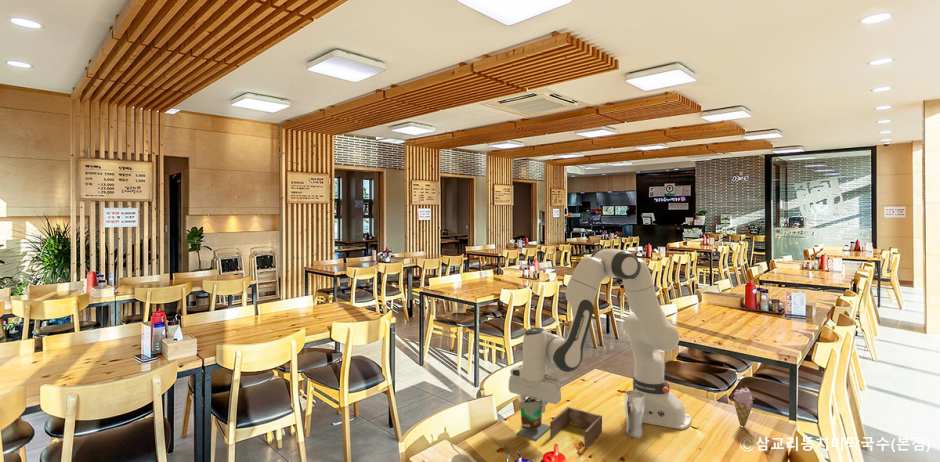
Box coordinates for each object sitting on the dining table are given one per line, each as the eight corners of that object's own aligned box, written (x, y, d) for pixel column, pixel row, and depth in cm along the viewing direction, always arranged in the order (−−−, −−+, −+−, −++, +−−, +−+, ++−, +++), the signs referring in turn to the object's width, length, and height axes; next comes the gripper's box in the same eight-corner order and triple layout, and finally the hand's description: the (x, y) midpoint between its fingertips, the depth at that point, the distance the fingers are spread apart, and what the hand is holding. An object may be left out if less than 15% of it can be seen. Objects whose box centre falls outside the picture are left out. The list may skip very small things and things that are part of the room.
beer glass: (621, 429, 171) (622, 389, 170) (640, 429, 170) (641, 390, 170) (627, 438, 164) (628, 397, 163) (647, 438, 163) (648, 397, 163)
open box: (601, 431, 169) (602, 415, 168) (586, 449, 156) (586, 432, 156) (567, 421, 177) (567, 406, 176) (550, 438, 164) (550, 421, 164)
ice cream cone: (757, 429, 170) (758, 390, 170) (745, 432, 168) (746, 392, 167) (740, 421, 176) (741, 383, 176) (729, 424, 174) (730, 386, 173)
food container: (535, 433, 162) (534, 406, 162) (519, 429, 166) (519, 402, 165) (550, 420, 172) (549, 394, 172) (535, 416, 176) (535, 391, 175)
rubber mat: (551, 427, 172) (551, 426, 172) (536, 440, 162) (536, 439, 162) (532, 421, 177) (532, 420, 177) (516, 434, 167) (516, 433, 167)
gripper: (564, 375, 165) (563, 413, 166) (514, 364, 177) (514, 399, 177) (556, 381, 160) (556, 420, 160) (506, 369, 172) (506, 405, 172)
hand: (534, 409), depth 169 cm, fingers closed on food container, 5 cm apart
